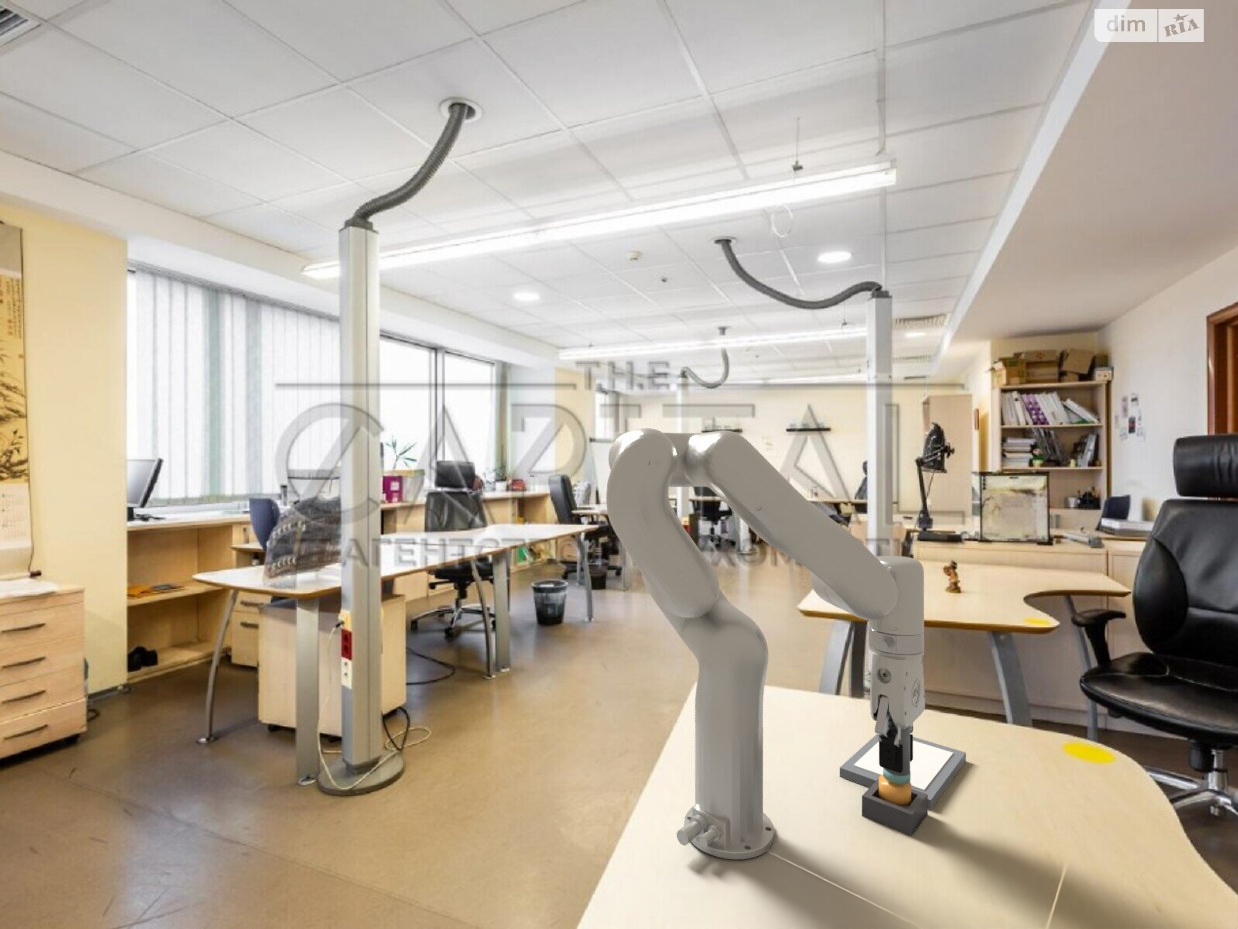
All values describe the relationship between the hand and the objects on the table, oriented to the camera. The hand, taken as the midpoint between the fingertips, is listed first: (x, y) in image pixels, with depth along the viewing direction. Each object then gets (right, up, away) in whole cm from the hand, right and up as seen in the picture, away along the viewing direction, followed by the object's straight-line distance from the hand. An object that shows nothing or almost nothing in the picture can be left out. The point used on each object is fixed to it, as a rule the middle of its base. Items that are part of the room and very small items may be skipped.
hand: (896, 762), depth 90 cm
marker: (0, -2, 0) cm, 2 cm away
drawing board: (+8, -8, +13) cm, 17 cm away
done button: (0, -5, 0) cm, 5 cm away
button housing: (0, -8, 0) cm, 8 cm away
